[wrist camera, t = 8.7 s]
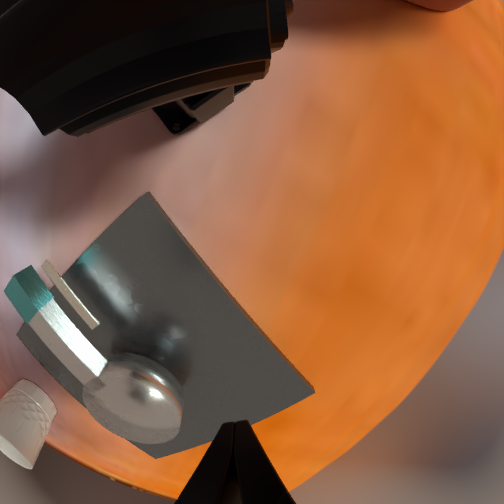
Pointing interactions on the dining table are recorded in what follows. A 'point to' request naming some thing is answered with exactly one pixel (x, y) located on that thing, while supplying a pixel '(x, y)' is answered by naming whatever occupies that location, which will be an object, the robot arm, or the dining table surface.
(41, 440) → the white cup
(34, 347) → the lock base
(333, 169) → the dining table surface
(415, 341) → the dining table surface
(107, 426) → the teal-tipped lever
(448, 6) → the potted cactus
